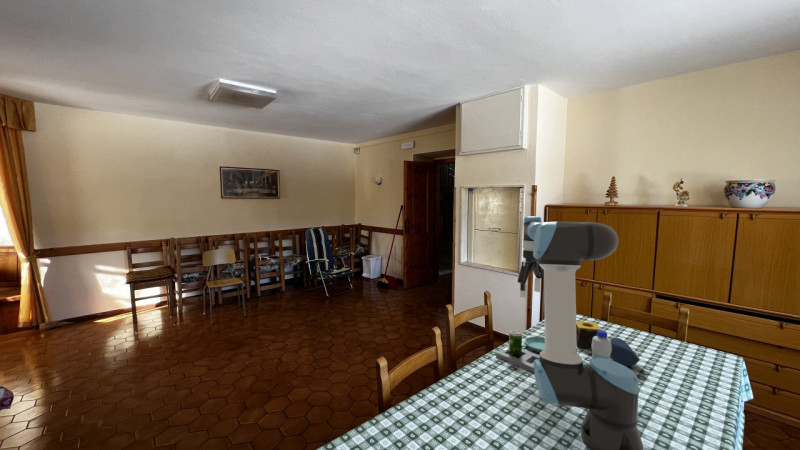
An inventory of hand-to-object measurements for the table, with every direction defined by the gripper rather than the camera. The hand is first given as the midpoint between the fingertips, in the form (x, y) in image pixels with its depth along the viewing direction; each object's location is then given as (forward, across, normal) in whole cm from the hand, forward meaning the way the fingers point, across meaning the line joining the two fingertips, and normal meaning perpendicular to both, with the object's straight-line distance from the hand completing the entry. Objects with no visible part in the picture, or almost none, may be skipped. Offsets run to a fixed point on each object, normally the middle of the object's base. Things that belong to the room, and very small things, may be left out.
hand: (530, 294), depth 148 cm
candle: (+27, +26, -16) cm, 41 cm away
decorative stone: (+27, +17, -33) cm, 46 cm away
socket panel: (+27, -12, -4) cm, 30 cm away
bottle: (+27, -4, -31) cm, 41 cm away
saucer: (+27, +6, -3) cm, 28 cm away
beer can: (+27, -12, 0) cm, 29 cm away
